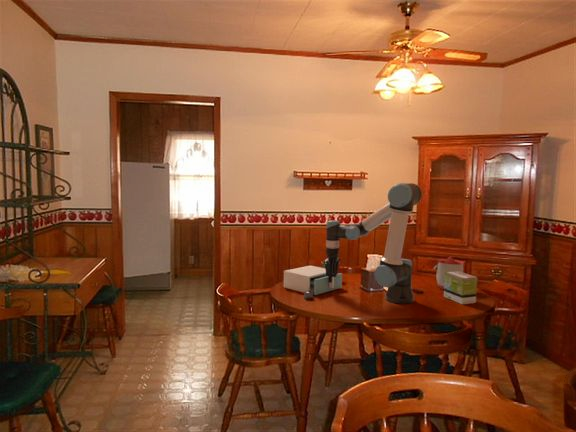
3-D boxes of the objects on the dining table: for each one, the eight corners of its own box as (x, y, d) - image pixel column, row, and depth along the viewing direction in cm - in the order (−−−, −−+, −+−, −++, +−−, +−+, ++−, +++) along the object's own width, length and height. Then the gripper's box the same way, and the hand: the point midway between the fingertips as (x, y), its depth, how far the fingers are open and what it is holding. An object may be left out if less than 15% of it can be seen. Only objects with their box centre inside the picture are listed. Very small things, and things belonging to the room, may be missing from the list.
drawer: (341, 287, 269) (342, 273, 268) (315, 294, 252) (316, 279, 251) (311, 280, 286) (311, 267, 285) (285, 286, 268) (285, 272, 267)
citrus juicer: (432, 284, 285) (434, 253, 283) (462, 287, 279) (464, 255, 277) (431, 289, 270) (433, 257, 268) (462, 293, 264) (464, 259, 262)
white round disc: (322, 284, 269) (322, 280, 269) (313, 286, 263) (313, 282, 263) (312, 281, 274) (312, 278, 274) (303, 283, 268) (303, 280, 268)
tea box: (442, 297, 254) (444, 271, 253) (457, 296, 258) (458, 270, 256) (461, 304, 240) (463, 277, 239) (476, 303, 244) (478, 276, 242)
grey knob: (314, 298, 246) (315, 292, 246) (308, 300, 243) (309, 293, 242) (308, 296, 250) (308, 290, 249) (302, 298, 246) (302, 292, 246)
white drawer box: (334, 286, 273) (335, 270, 272) (308, 293, 255) (309, 276, 254) (309, 280, 286) (310, 265, 285) (283, 287, 269) (283, 270, 268)
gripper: (330, 249, 249) (329, 290, 252) (344, 247, 259) (343, 287, 261) (320, 247, 255) (319, 288, 257) (334, 245, 264) (333, 284, 266)
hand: (331, 287), depth 259 cm, fingers closed
